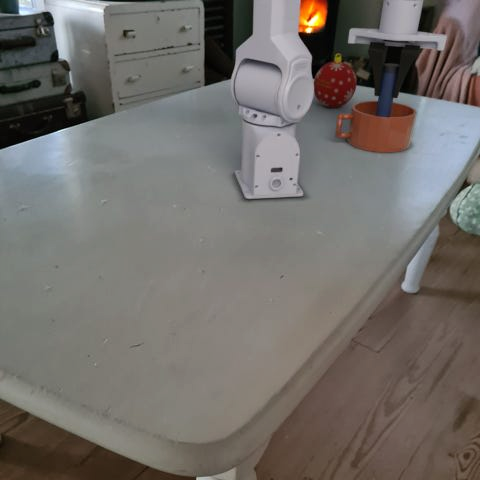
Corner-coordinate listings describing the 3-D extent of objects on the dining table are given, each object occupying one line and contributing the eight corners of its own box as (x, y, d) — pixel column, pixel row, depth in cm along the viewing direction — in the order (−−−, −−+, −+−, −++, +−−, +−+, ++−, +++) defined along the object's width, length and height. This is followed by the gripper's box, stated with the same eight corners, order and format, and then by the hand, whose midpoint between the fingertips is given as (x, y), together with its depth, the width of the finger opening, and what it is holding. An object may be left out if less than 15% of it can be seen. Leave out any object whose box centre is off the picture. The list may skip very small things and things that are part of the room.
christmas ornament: (303, 104, 109) (308, 51, 103) (336, 100, 112) (342, 48, 106) (327, 114, 103) (333, 59, 97) (361, 109, 106) (369, 55, 100)
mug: (394, 132, 94) (400, 100, 91) (419, 151, 86) (427, 117, 82) (325, 134, 92) (328, 101, 89) (344, 154, 84) (349, 119, 81)
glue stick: (391, 125, 86) (402, 66, 81) (377, 125, 86) (387, 66, 81) (385, 121, 88) (396, 63, 83) (371, 121, 88) (381, 63, 83)
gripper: (456, -2, 78) (434, 94, 86) (359, -7, 82) (347, 86, 90) (454, 2, 72) (431, 105, 80) (351, -3, 76) (338, 95, 84)
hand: (386, 95), depth 85 cm, fingers closed on glue stick, 2 cm apart
